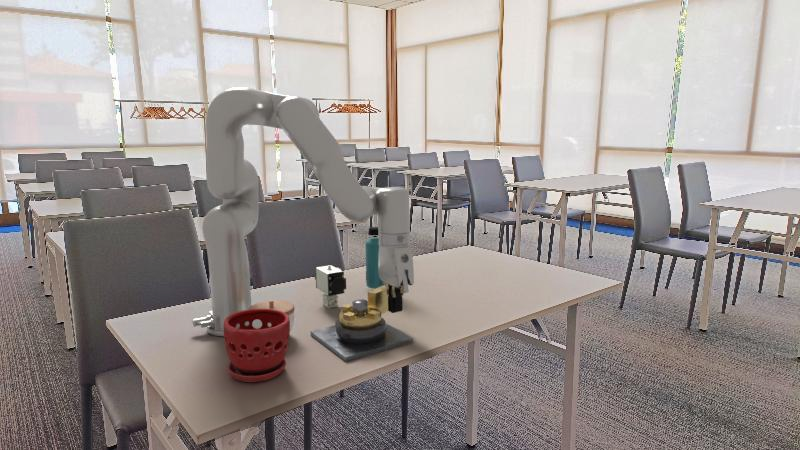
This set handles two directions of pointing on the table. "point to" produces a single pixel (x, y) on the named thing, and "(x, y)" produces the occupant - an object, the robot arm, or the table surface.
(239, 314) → the plant pot
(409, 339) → the housing
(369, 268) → the beverage bottle
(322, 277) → the pneumatic valve
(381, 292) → the gold slotted fixture
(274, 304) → the lidded jar
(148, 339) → the table surface
